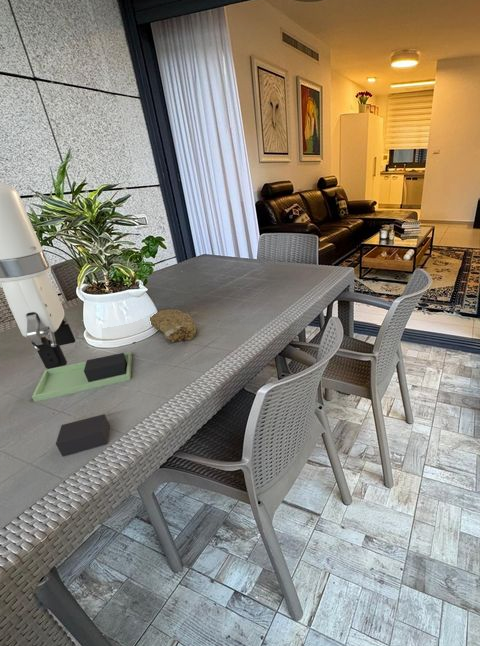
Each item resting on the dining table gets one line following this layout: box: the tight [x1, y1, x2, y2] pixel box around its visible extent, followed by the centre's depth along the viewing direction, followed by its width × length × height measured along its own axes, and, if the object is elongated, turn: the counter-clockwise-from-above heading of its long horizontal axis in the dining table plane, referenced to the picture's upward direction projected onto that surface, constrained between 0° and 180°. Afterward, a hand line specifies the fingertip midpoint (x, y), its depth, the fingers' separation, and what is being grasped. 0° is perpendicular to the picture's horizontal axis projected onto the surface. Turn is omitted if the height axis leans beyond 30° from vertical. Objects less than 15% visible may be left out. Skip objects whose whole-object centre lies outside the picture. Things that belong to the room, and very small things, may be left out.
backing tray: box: [31, 351, 133, 403], centre depth 94 cm, size 21×13×2 cm, turn 113°
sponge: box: [150, 308, 197, 343], centre depth 116 cm, size 13×8×20 cm
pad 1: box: [55, 413, 111, 457], centre depth 72 cm, size 8×6×4 cm
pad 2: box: [84, 352, 127, 382], centre depth 95 cm, size 9×6×4 cm, turn 114°
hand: (62, 354), depth 67 cm, fingers open, 9 cm apart
